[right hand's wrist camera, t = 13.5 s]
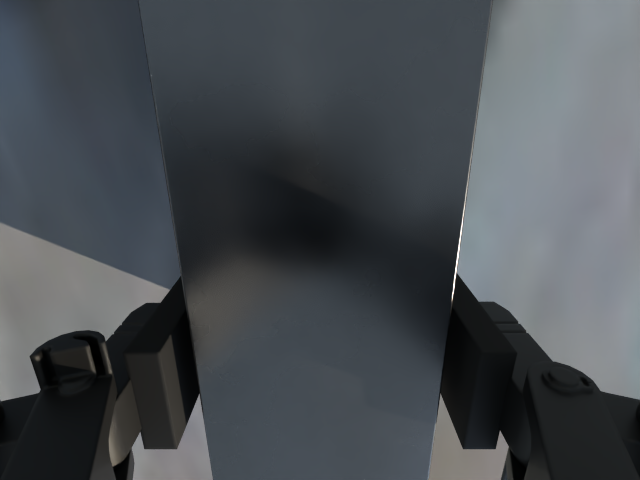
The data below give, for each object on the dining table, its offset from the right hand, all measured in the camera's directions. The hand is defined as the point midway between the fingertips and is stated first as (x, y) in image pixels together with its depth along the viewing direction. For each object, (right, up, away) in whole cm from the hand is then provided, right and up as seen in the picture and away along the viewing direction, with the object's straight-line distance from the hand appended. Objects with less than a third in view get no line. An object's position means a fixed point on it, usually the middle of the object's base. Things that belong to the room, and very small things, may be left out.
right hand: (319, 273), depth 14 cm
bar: (0, +11, -1) cm, 11 cm away
